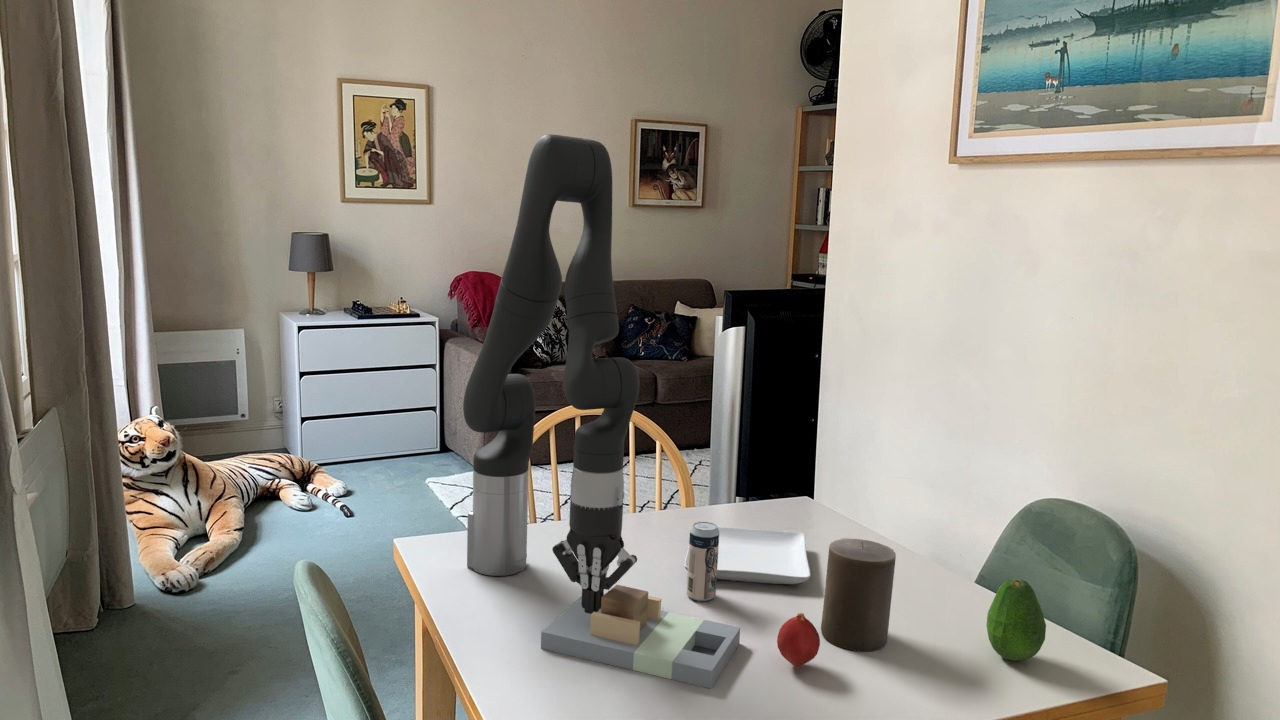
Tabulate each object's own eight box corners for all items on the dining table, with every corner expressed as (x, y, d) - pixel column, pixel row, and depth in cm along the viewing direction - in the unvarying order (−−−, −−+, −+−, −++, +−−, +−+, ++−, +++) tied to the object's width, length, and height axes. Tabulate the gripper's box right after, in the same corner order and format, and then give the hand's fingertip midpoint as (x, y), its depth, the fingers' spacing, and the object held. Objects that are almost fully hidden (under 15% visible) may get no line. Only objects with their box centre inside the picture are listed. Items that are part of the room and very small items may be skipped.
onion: (771, 656, 130) (775, 602, 129) (811, 656, 131) (815, 603, 129) (780, 677, 124) (784, 621, 123) (822, 676, 125) (827, 621, 124)
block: (600, 630, 130) (601, 597, 129) (615, 616, 135) (616, 584, 134) (632, 638, 128) (633, 604, 127) (646, 624, 133) (648, 591, 132)
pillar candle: (849, 657, 131) (860, 556, 128) (807, 627, 139) (816, 533, 137) (901, 645, 135) (912, 548, 133) (857, 617, 144) (866, 526, 141)
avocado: (971, 648, 135) (980, 571, 133) (1017, 643, 137) (1026, 567, 135) (1007, 675, 128) (1016, 594, 126) (1054, 670, 130) (1064, 589, 128)
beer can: (713, 604, 146) (718, 532, 144) (684, 600, 147) (688, 529, 145) (717, 592, 151) (721, 522, 149) (688, 588, 152) (692, 519, 150)
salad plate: (682, 584, 154) (683, 565, 154) (690, 539, 175) (691, 522, 175) (810, 595, 152) (811, 576, 152) (803, 549, 173) (804, 531, 172)
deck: (540, 648, 130) (541, 611, 129) (582, 609, 142) (584, 575, 141) (710, 688, 121) (713, 649, 120) (739, 643, 134) (741, 607, 133)
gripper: (543, 496, 129) (539, 612, 132) (629, 512, 125) (623, 632, 128) (567, 482, 136) (563, 593, 139) (649, 497, 132) (644, 611, 134)
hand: (592, 611), depth 133 cm, fingers closed
